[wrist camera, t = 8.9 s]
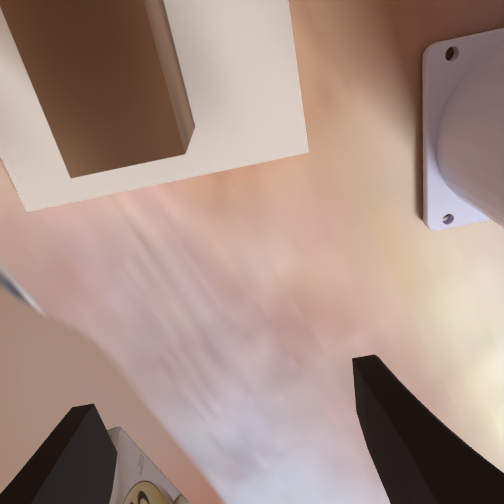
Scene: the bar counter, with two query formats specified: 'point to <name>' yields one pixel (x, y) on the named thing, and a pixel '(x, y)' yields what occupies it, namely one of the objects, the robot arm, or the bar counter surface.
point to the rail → (104, 79)
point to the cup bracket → (199, 95)
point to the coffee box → (139, 476)
